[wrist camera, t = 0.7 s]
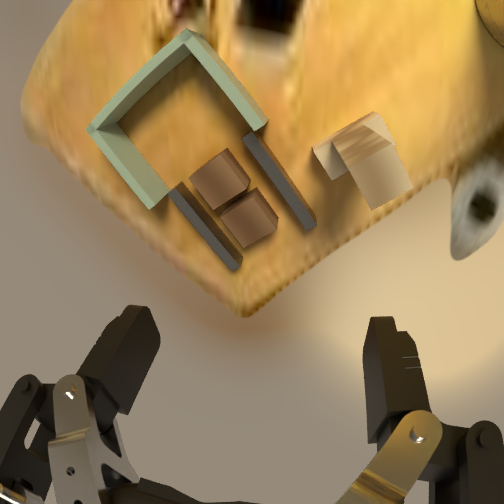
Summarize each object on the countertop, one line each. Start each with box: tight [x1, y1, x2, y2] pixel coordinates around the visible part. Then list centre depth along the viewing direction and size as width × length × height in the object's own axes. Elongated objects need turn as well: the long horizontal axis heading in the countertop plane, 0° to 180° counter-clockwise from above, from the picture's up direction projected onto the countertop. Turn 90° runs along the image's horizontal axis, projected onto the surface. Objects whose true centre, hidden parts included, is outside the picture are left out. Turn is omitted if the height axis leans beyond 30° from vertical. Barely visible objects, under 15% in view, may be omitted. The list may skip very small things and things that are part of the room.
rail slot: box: [168, 130, 317, 271], centre depth 30 cm, size 11×11×2 cm
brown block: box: [189, 148, 251, 210], centre depth 29 cm, size 4×4×3 cm
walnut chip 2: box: [220, 187, 278, 248], centre depth 31 cm, size 4×4×3 cm
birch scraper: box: [312, 112, 413, 211], centre depth 21 cm, size 7×3×12 cm, turn 126°
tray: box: [85, 28, 269, 210], centre depth 26 cm, size 14×11×4 cm
